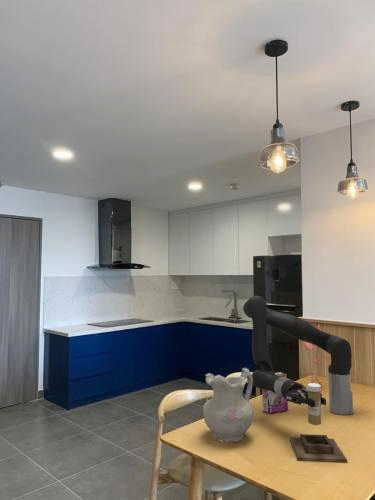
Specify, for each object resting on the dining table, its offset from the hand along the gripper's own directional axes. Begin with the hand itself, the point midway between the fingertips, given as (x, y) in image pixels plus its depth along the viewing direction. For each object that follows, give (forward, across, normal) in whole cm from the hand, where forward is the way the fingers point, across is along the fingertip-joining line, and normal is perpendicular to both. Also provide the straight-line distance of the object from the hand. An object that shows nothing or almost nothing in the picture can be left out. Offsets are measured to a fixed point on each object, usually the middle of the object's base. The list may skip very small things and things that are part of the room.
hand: (320, 403), depth 131 cm
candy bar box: (-40, +11, +18) cm, 45 cm away
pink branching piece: (-55, +53, +18) cm, 79 cm away
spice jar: (-3, 0, +8) cm, 8 cm away
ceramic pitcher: (-26, -21, +18) cm, 38 cm away
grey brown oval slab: (-50, +30, +18) cm, 61 cm away
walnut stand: (-2, 0, +17) cm, 17 cm away
